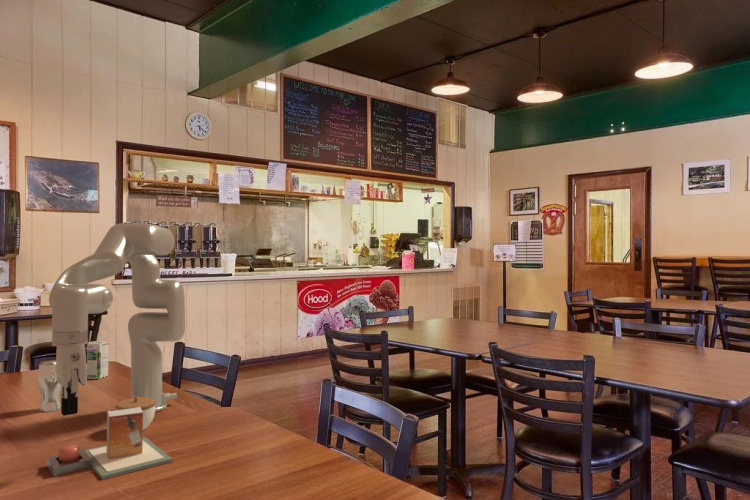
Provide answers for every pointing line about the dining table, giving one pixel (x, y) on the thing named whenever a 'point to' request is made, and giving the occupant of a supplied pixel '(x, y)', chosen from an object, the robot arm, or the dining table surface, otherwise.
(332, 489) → the dining table surface
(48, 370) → the beer glass
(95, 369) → the syrup box
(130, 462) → the board
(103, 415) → the dining table surface
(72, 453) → the red rounded knob
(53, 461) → the button housing
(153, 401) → the lidded jar
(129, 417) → the small box
